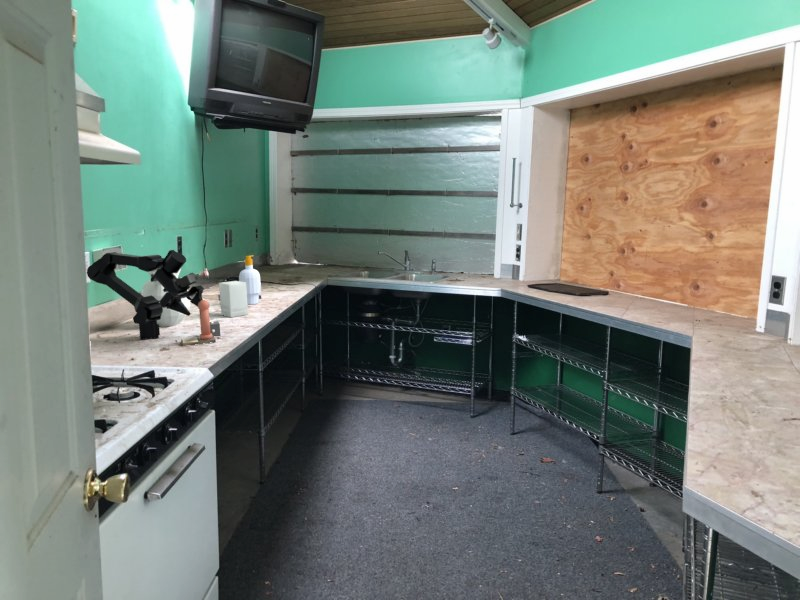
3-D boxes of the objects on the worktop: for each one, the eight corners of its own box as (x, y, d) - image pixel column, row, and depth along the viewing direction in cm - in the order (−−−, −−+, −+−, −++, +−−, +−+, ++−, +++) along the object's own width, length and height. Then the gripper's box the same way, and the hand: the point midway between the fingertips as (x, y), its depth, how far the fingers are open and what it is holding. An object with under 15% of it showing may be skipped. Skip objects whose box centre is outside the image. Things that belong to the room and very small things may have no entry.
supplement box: (249, 314, 246) (246, 282, 244) (231, 317, 240) (228, 284, 237) (238, 312, 252) (236, 280, 250) (220, 315, 246) (218, 282, 243)
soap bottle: (266, 302, 275) (263, 255, 271) (250, 306, 266) (247, 257, 262) (251, 301, 280) (249, 254, 276) (236, 304, 272) (233, 256, 268)
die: (206, 338, 203) (205, 323, 202) (205, 335, 208) (204, 321, 207) (220, 336, 206) (219, 322, 205) (218, 333, 211) (217, 319, 210)
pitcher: (182, 328, 220) (176, 267, 215) (136, 329, 220) (130, 268, 215) (198, 319, 238) (194, 262, 234) (156, 319, 238) (151, 263, 234)
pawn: (200, 340, 196) (197, 301, 193) (199, 337, 200) (196, 299, 197) (213, 338, 198) (210, 300, 195) (211, 336, 201) (208, 298, 199)
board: (182, 346, 192) (182, 343, 192) (181, 341, 199) (180, 338, 198) (215, 342, 197) (215, 339, 196) (213, 338, 203) (212, 335, 203)
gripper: (163, 269, 187) (193, 302, 186) (197, 263, 205) (225, 293, 204) (147, 291, 191) (176, 323, 190) (181, 283, 209) (208, 313, 207)
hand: (197, 312), depth 198 cm, fingers open, 9 cm apart
